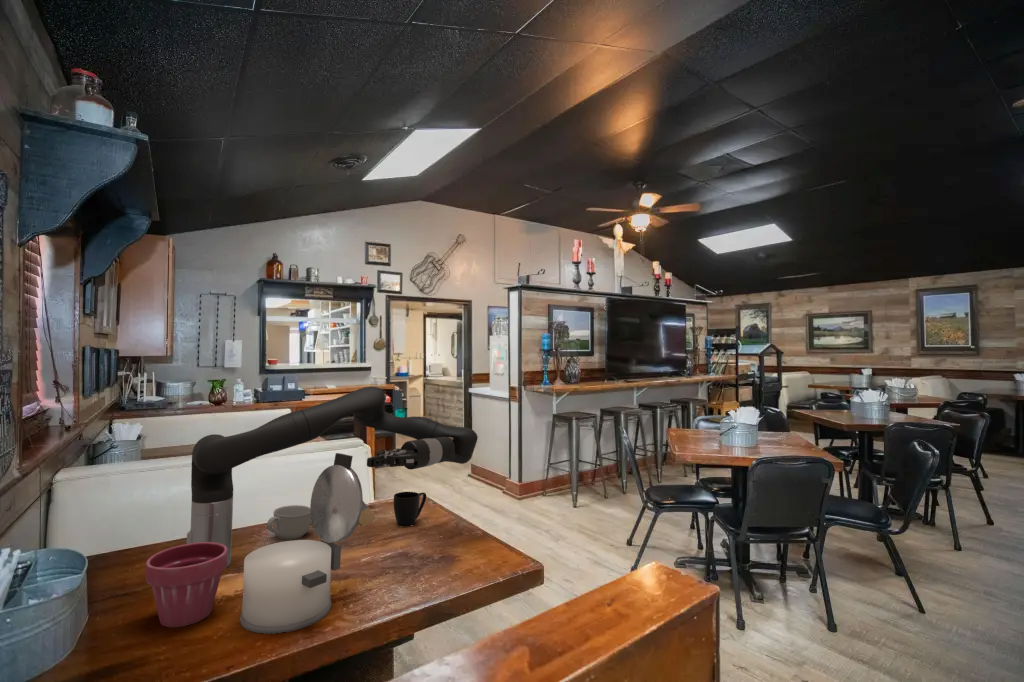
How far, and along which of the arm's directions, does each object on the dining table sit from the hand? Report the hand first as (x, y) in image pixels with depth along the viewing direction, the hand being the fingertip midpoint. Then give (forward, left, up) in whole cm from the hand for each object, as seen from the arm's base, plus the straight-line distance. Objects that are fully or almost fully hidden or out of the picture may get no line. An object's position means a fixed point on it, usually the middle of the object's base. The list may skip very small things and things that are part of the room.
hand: (368, 462), depth 124 cm
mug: (+10, +42, -28) cm, 51 cm away
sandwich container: (-9, +47, -29) cm, 56 cm away
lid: (-7, -7, -6) cm, 12 cm away
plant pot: (-35, -12, -28) cm, 47 cm away
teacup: (-26, +33, -29) cm, 50 cm away
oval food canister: (-15, -13, -28) cm, 35 cm away
